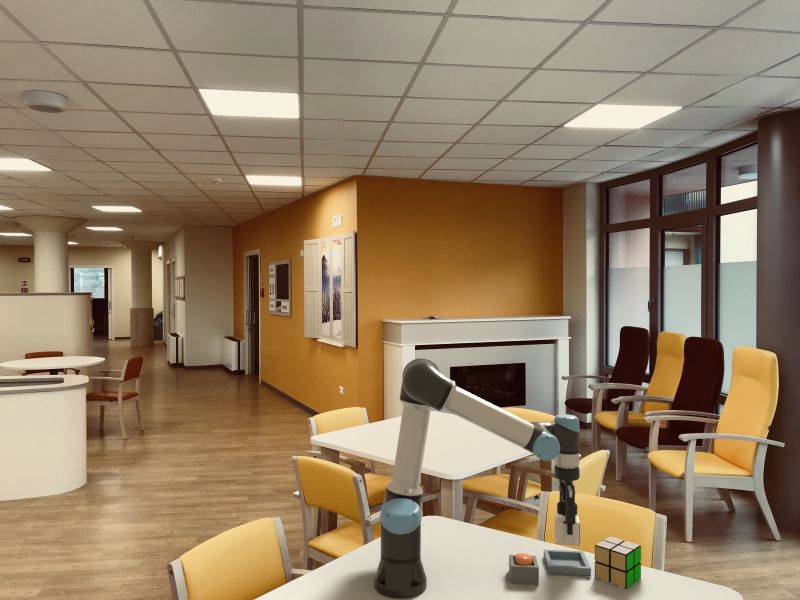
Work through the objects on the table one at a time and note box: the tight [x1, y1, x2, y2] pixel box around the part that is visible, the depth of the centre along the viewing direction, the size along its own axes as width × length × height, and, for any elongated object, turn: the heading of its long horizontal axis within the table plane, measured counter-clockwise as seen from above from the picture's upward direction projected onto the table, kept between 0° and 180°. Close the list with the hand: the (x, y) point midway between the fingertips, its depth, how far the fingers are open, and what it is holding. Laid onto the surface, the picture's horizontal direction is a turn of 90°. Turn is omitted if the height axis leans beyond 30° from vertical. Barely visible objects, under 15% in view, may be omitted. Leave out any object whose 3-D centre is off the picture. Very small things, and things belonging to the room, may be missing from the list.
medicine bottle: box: [554, 500, 581, 547], centre depth 190 cm, size 7×7×12 cm
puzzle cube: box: [594, 536, 642, 589], centre depth 182 cm, size 10×10×10 cm
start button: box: [514, 553, 533, 566], centre depth 182 cm, size 5×5×2 cm
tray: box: [543, 549, 592, 578], centre depth 190 cm, size 12×12×2 cm
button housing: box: [508, 554, 540, 586], centre depth 182 cm, size 8×8×5 cm
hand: (566, 538), depth 190 cm, fingers closed on medicine bottle, 7 cm apart
